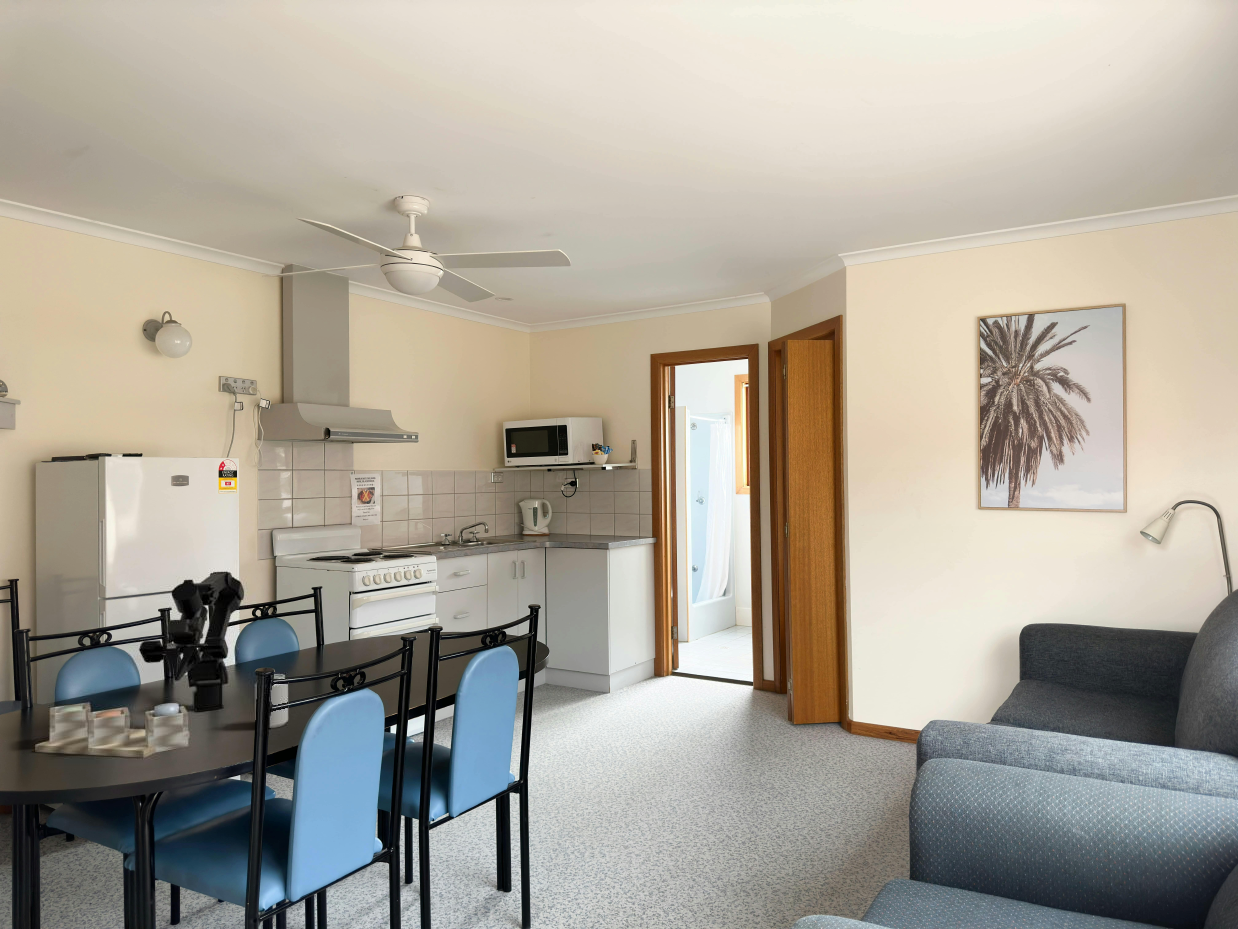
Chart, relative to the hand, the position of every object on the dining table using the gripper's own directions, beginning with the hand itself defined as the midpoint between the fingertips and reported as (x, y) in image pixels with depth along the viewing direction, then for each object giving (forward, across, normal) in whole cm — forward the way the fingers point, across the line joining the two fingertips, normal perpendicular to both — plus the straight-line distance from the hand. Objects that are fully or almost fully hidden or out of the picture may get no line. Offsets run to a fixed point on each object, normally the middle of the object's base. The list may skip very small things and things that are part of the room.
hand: (176, 679), depth 193 cm
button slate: (+11, 0, -1) cm, 11 cm away
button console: (+12, -12, +6) cm, 18 cm away
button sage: (+5, -23, +7) cm, 25 cm away
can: (+7, +20, +12) cm, 25 cm away
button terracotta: (+10, -13, +2) cm, 16 cm away
